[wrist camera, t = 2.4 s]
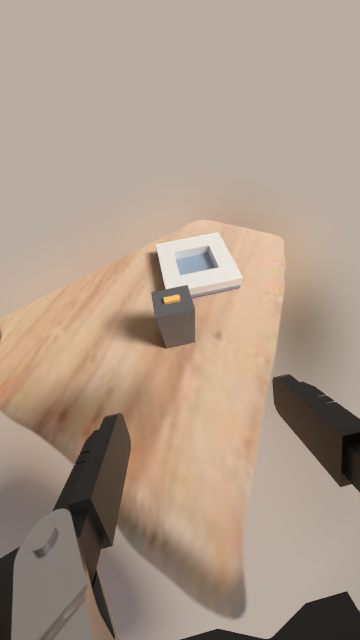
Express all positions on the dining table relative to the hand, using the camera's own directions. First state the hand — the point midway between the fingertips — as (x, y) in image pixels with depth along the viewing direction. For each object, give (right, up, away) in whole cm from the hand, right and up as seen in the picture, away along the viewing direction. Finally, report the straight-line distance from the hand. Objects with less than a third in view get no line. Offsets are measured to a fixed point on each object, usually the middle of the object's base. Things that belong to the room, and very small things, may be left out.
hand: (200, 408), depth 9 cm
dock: (+2, +14, +25) cm, 29 cm away
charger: (-1, +2, +19) cm, 19 cm away
